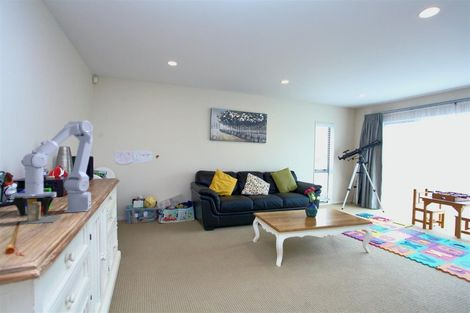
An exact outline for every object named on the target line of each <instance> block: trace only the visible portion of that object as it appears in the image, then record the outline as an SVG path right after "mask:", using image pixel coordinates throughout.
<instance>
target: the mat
mask: <svg viewBox="0 0 470 313" xmlns="http://www.w3.org/2000/svg"><path fill="white" fill-rule="evenodd" d="M61 217H62V215H56V216H55V215H53V216H41V218H40V219H38V220H37V221H35V222H27V219H26V220H24V221H22V222H20V223H19V224H20V225H21V226H22V225H32V224H48V223H55V222H56V221H57V220H59V219H60V218H61Z"/></svg>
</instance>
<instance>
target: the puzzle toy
mask: <svg viewBox="0 0 470 313" xmlns="http://www.w3.org/2000/svg"><path fill="white" fill-rule="evenodd" d="M43 192H52V188H51V187H48V188H47V187H46V188H45V187H43ZM17 193H25V189H23V190H21V191H18V192H17ZM31 197H32V196H31ZM44 198H45V197H43V198H27V199H26V205H25V215H27V205H28V204H30V203H33V202H41V214H43V201H42V199H44ZM51 208H52V204H51V205H50V207H49V210H51ZM17 215H19V216H20V213H19V211H18V210H17Z"/></svg>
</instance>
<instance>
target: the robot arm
mask: <svg viewBox="0 0 470 313" xmlns="http://www.w3.org/2000/svg"><path fill="white" fill-rule="evenodd" d="M93 131H94V126H93V125H92V123H91V122H90V121H89V120H70V121H68V122H67V123H66V124H64V126H63V128H62V129H61V130H60V131H59V132H57V133H56V135H55V136H54V137H53V138H51V140H45V141H41V142H40V145H39V146H38V147H36V149H33V150H32V151H31V153H27V154H25V155H24V156H23V158H22V159H21V161H20V163H21V165H22V166H23V167H24V178H25V179H24V190H25V193H18V192H16V193H15V192H13V193H11V194H10V200H12V203H13V204H14V206H15V207H16V208H17V212H18V211H19V213H20V214H19V216H20V217H24V216H26V214H25V205H26V199H27V198H43V197H45V198H44V199H42V201H43V213H42V214H43V216H47V215H48V213H49V210H50V209H49V207H50V205H51V206H52V203H53V201H54V199H55V198H56V197H57V191H51V192H43V189H44V167H45V166H47V164H48V160H49V159H50V158H51V156H53V155H54V154H55V153H56V152H57V151H58V150H59V146H60V145H61V144H62V143H63V142H65V141H66V140H67V139H68V138H70V137H72V136H74V137H75V138H76V139H77V140H78V141H79V142H78V148H77V151H76V155H75V159H74V164H73V167H72V172H70V173H69V174H68V175H67V178H66V179H65V181H64V183H63V188H64V189H65V191H66V193H67V209H65V210H64V212H63V213H79V212H80V213H81V212H82V213H83V212H88V211H89V210H90V209H91V208H92V193H91V192H90V191H87V190H88V189H89V188H90V182H89V180H90V176H89V175H88V174H87V169H88V165H89V160H90V156H91V155H90V154H91V151H92V147H93V142H94V136H93ZM31 196H32V197H31Z"/></svg>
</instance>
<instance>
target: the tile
mask: <svg viewBox="0 0 470 313" xmlns="http://www.w3.org/2000/svg"><path fill="white" fill-rule="evenodd" d="M26 215H27V217H26V220H27V222H35V221H37V220H38V219H40V218H41V217H42V213H41V202H33V203H30V204H28V205H27V214H26Z"/></svg>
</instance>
